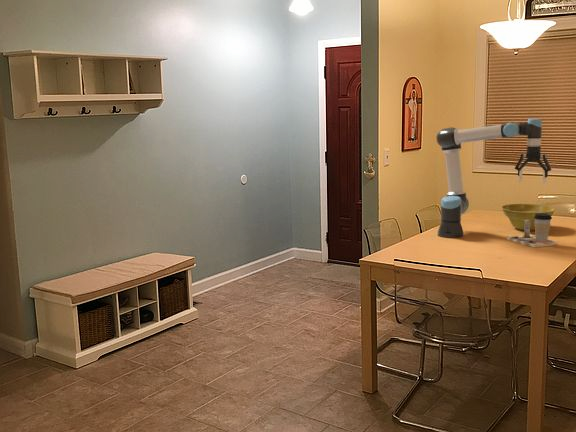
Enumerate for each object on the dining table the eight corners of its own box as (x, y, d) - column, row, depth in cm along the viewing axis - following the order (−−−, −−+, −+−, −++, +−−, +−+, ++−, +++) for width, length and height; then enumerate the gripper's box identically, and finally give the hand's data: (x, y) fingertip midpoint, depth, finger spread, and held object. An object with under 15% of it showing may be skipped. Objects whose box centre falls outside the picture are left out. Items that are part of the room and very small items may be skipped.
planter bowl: (563, 233, 379) (564, 211, 377) (509, 234, 380) (510, 212, 377) (543, 223, 411) (544, 203, 408) (493, 224, 411) (494, 204, 409)
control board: (507, 239, 365) (508, 220, 363) (529, 237, 370) (530, 218, 368) (534, 247, 344) (535, 227, 342) (557, 244, 350) (558, 224, 347)
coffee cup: (531, 241, 350) (533, 215, 348) (533, 238, 358) (535, 212, 356) (549, 243, 346) (551, 216, 343) (551, 240, 354) (552, 213, 352)
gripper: (558, 145, 356) (556, 182, 359) (514, 144, 372) (513, 180, 375) (554, 146, 350) (552, 184, 354) (510, 145, 366) (508, 181, 370)
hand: (532, 182), depth 365 cm, fingers open, 13 cm apart
